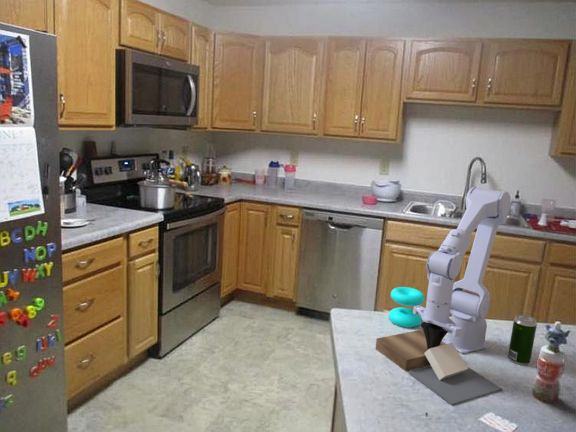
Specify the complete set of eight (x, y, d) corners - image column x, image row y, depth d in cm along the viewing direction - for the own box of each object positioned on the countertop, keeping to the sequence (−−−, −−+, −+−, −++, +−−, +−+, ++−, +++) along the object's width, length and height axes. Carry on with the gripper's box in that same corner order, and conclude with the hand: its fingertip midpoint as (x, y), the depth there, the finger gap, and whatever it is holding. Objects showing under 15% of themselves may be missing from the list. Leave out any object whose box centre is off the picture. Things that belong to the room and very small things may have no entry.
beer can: (522, 368, 118) (530, 324, 115) (503, 358, 122) (510, 316, 120) (534, 363, 121) (541, 320, 118) (514, 353, 125) (521, 312, 123)
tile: (446, 346, 117) (452, 342, 115) (462, 372, 113) (468, 368, 111) (424, 353, 113) (429, 348, 111) (439, 380, 109) (445, 376, 107)
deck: (420, 339, 130) (422, 329, 130) (452, 359, 120) (454, 348, 119) (375, 348, 123) (376, 338, 123) (405, 371, 113) (406, 359, 112)
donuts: (393, 295, 135) (389, 284, 145) (390, 327, 137) (386, 314, 147) (428, 298, 134) (421, 287, 144) (424, 330, 136) (417, 316, 146)
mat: (455, 361, 119) (456, 359, 119) (501, 389, 107) (502, 388, 107) (408, 373, 112) (408, 371, 112) (451, 405, 100) (451, 403, 100)
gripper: (406, 291, 117) (400, 340, 120) (449, 313, 105) (441, 367, 107) (427, 288, 120) (421, 336, 123) (471, 309, 108) (463, 362, 111)
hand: (432, 350), depth 115 cm, fingers closed
